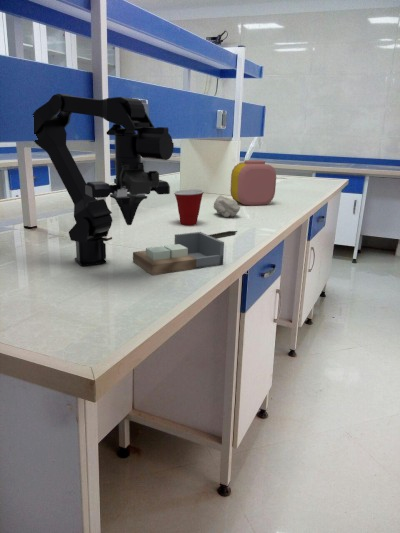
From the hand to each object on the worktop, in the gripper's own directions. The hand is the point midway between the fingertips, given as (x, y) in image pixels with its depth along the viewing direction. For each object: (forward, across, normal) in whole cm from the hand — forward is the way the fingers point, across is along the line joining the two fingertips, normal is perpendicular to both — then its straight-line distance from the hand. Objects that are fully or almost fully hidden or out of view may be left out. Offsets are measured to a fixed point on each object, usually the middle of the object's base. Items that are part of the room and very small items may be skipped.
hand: (129, 224), depth 106 cm
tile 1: (+9, +8, 0) cm, 12 cm away
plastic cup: (+12, +39, +40) cm, 57 cm away
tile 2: (+9, +12, 0) cm, 15 cm away
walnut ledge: (+11, +10, 0) cm, 15 cm away
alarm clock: (+12, +87, +66) cm, 110 cm away
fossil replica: (+12, +60, +47) cm, 77 cm away
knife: (+12, +36, +20) cm, 43 cm away
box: (+11, +20, 0) cm, 23 cm away
